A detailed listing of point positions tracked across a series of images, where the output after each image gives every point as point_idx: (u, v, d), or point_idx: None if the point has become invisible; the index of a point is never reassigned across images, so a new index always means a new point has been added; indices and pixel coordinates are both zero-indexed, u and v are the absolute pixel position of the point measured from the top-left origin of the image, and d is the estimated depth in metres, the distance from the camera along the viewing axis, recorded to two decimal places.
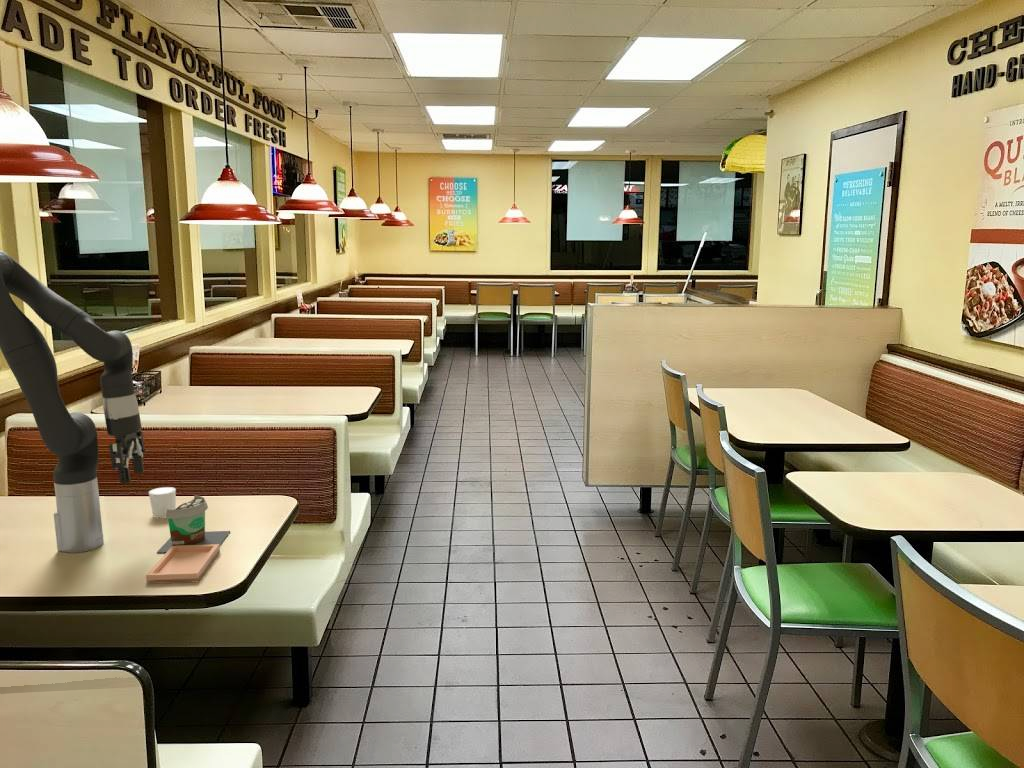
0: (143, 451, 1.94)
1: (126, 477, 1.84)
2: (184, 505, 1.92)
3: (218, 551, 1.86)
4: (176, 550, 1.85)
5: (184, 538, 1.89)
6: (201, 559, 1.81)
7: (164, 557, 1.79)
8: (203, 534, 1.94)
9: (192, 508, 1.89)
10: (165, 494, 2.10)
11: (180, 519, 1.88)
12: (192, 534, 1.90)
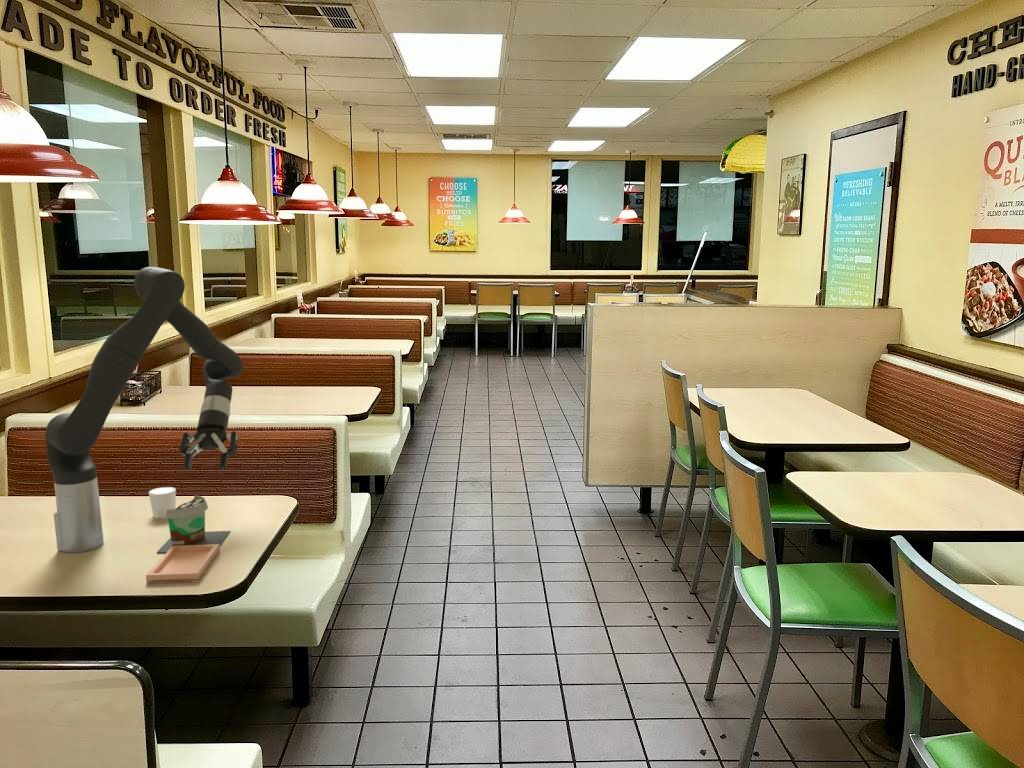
0: None
1: None
2: (184, 505, 1.92)
3: (218, 551, 1.86)
4: (176, 550, 1.85)
5: (184, 538, 1.89)
6: (201, 559, 1.81)
7: (164, 557, 1.79)
8: (203, 534, 1.94)
9: (192, 508, 1.89)
10: (165, 494, 2.10)
11: (180, 519, 1.88)
12: (192, 534, 1.90)
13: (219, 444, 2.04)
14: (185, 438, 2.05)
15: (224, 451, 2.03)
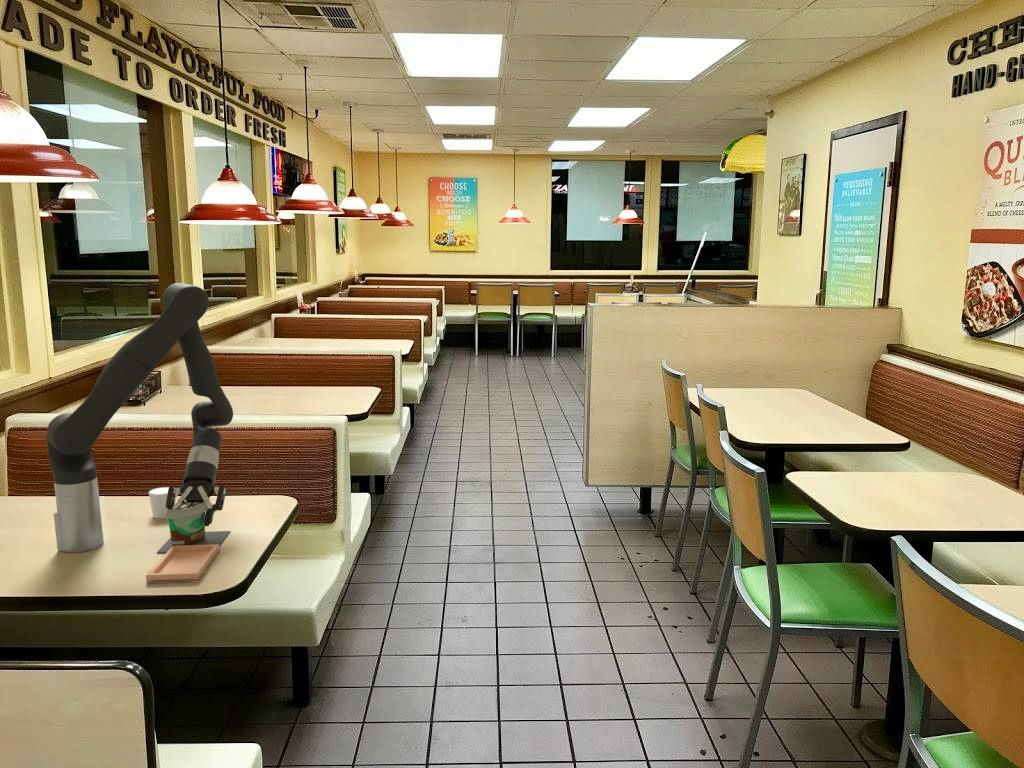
0: None
1: None
2: (184, 505, 1.91)
3: (218, 551, 1.86)
4: (176, 550, 1.85)
5: (184, 538, 1.89)
6: (201, 559, 1.81)
7: (164, 557, 1.79)
8: (203, 534, 1.94)
9: (192, 508, 1.89)
10: (165, 494, 2.10)
11: (180, 519, 1.87)
12: (192, 534, 1.90)
13: (205, 499, 1.93)
14: (171, 492, 1.94)
15: (209, 507, 1.93)
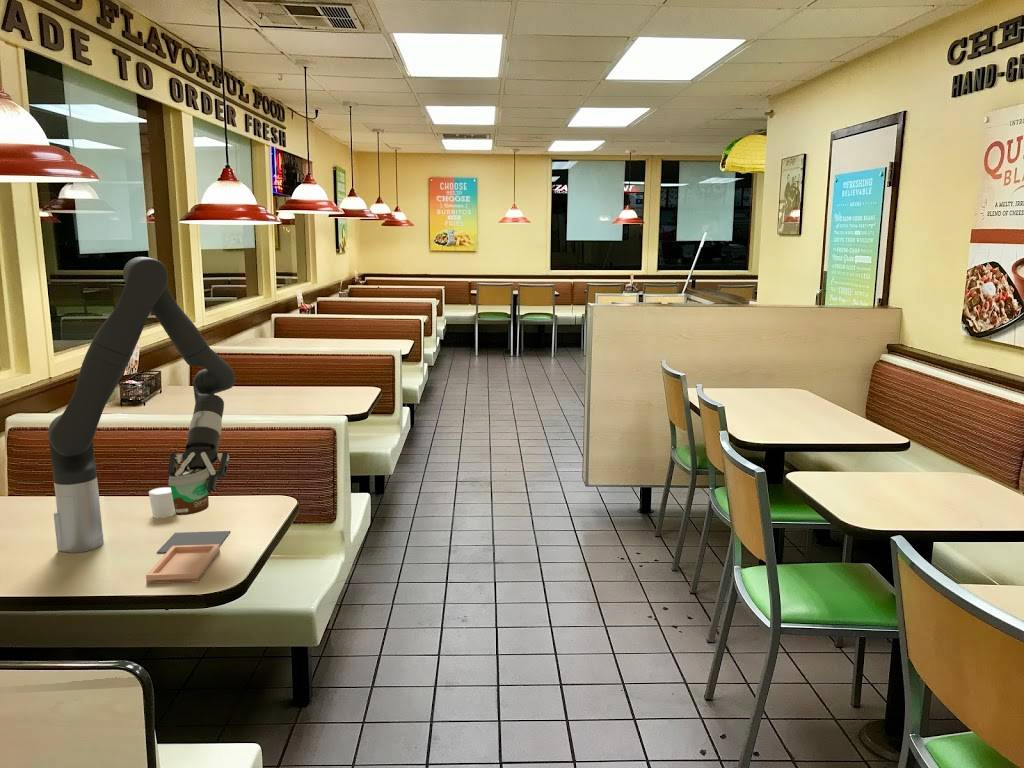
0: None
1: None
2: (186, 472, 1.86)
3: (218, 551, 1.86)
4: (176, 550, 1.85)
5: (188, 506, 1.84)
6: (201, 559, 1.81)
7: (164, 557, 1.79)
8: (207, 501, 1.88)
9: (195, 474, 1.83)
10: (165, 494, 2.10)
11: (183, 486, 1.82)
12: (196, 501, 1.85)
13: (208, 465, 1.88)
14: (173, 459, 1.89)
15: (212, 473, 1.87)
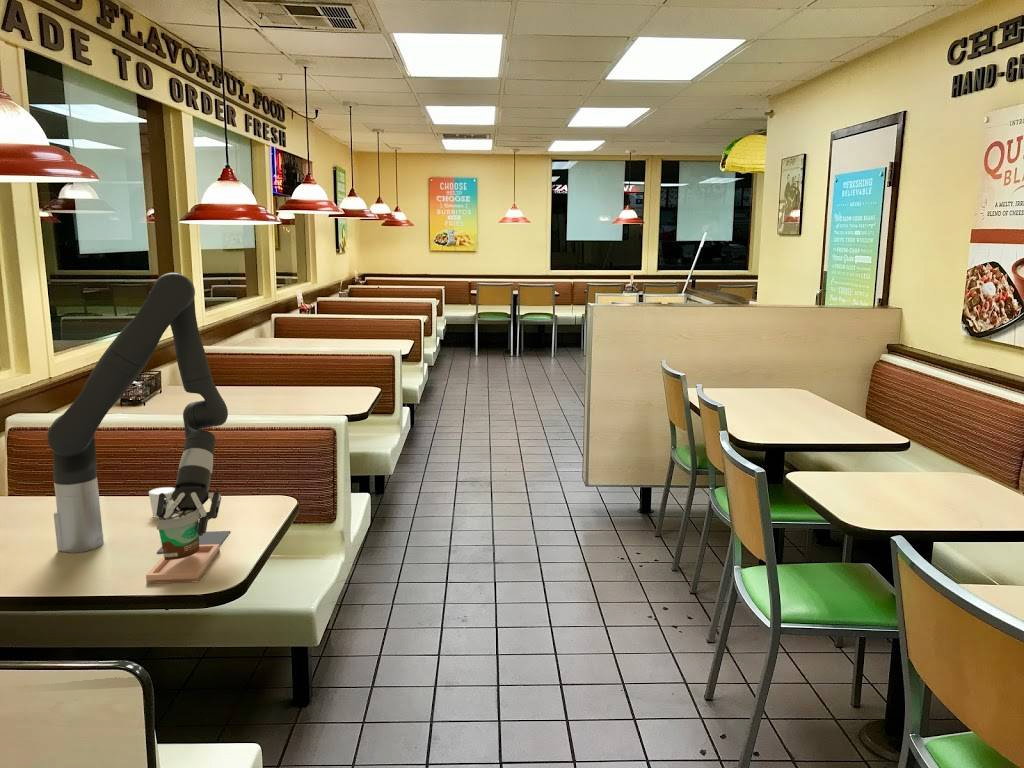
0: None
1: None
2: (175, 514, 1.78)
3: (218, 551, 1.86)
4: None
5: (177, 550, 1.75)
6: (201, 559, 1.81)
7: None
8: (197, 544, 1.80)
9: (185, 517, 1.75)
10: (165, 494, 2.10)
11: (172, 530, 1.74)
12: (186, 545, 1.76)
13: (198, 506, 1.80)
14: (162, 500, 1.80)
15: (203, 515, 1.79)
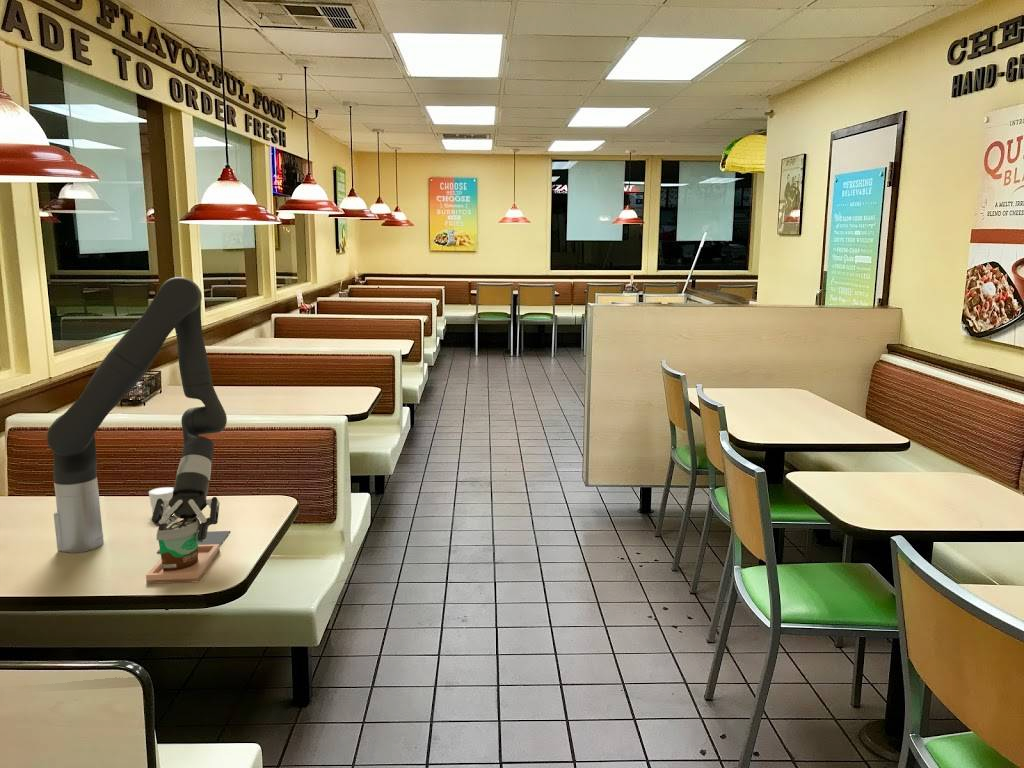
0: None
1: None
2: (175, 525, 1.77)
3: (218, 551, 1.86)
4: None
5: (176, 561, 1.74)
6: (201, 559, 1.81)
7: None
8: (196, 556, 1.79)
9: (185, 528, 1.74)
10: (165, 494, 2.10)
11: (172, 540, 1.73)
12: (185, 556, 1.75)
13: (197, 513, 1.78)
14: (158, 505, 1.79)
15: (203, 521, 1.78)
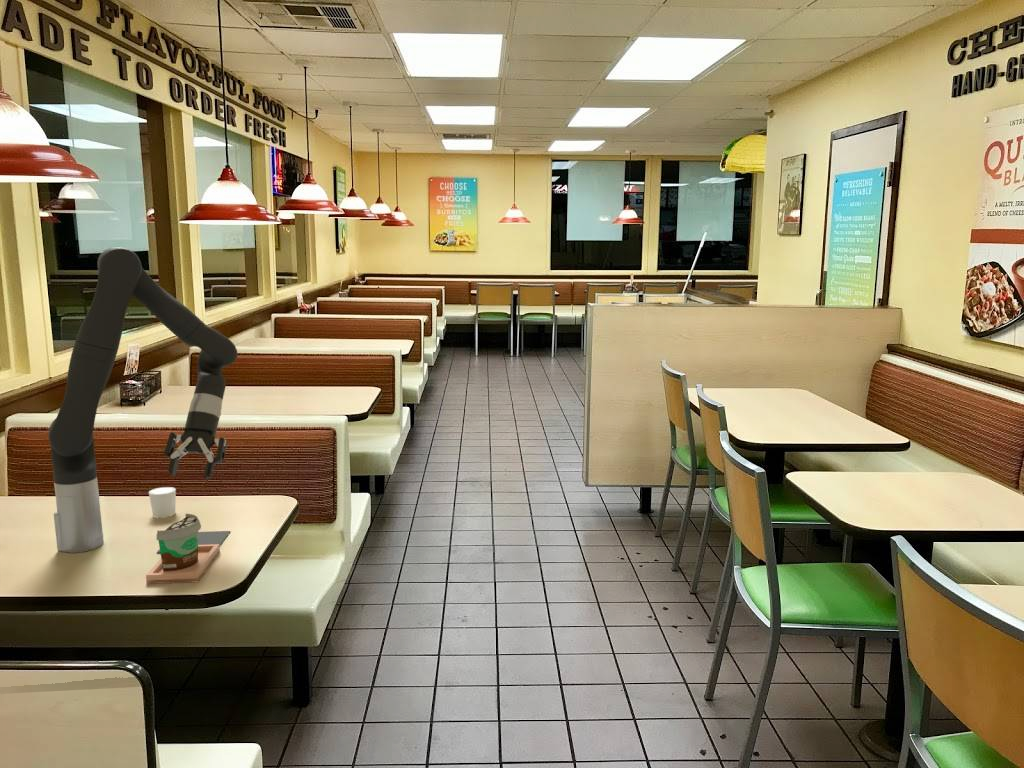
0: None
1: None
2: (175, 525, 1.77)
3: (218, 551, 1.86)
4: None
5: (176, 561, 1.74)
6: (201, 559, 1.81)
7: None
8: (196, 556, 1.79)
9: (185, 528, 1.74)
10: (165, 494, 2.10)
11: (172, 540, 1.73)
12: (185, 556, 1.75)
13: (205, 452, 1.91)
14: (171, 439, 1.92)
15: (210, 461, 1.91)
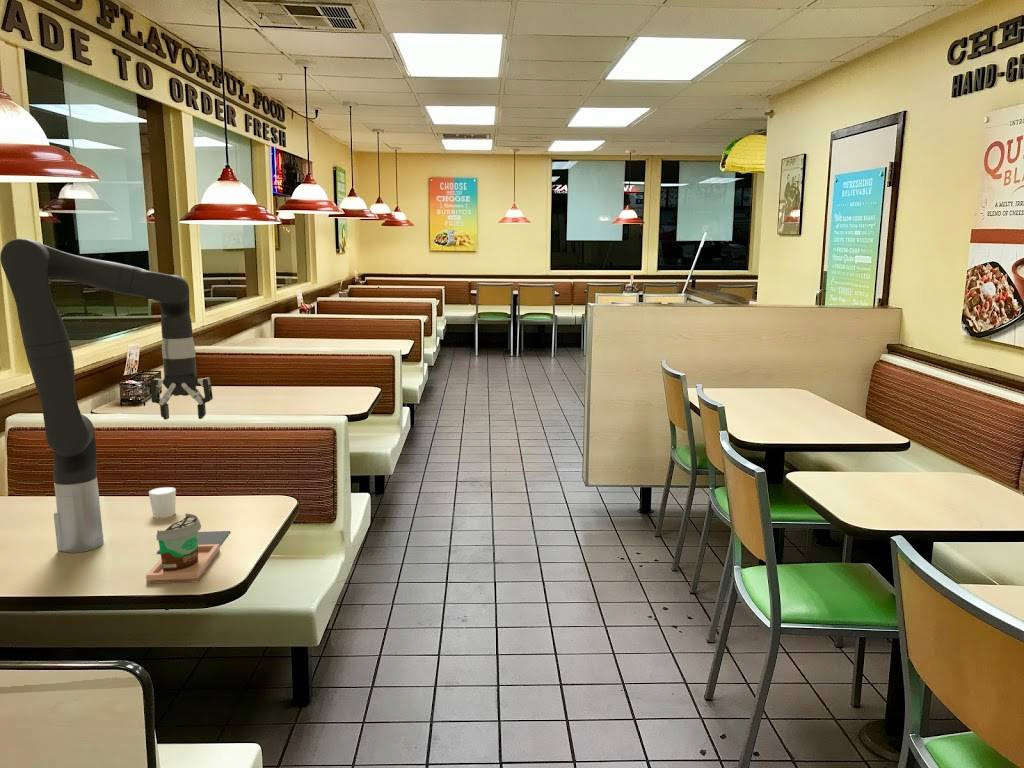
0: None
1: None
2: (175, 525, 1.77)
3: (218, 551, 1.86)
4: None
5: (176, 561, 1.74)
6: (201, 559, 1.81)
7: None
8: (196, 556, 1.79)
9: (185, 528, 1.74)
10: (165, 494, 2.10)
11: (172, 540, 1.73)
12: (185, 556, 1.75)
13: (193, 396, 1.93)
14: (154, 386, 1.92)
15: (200, 403, 1.94)
